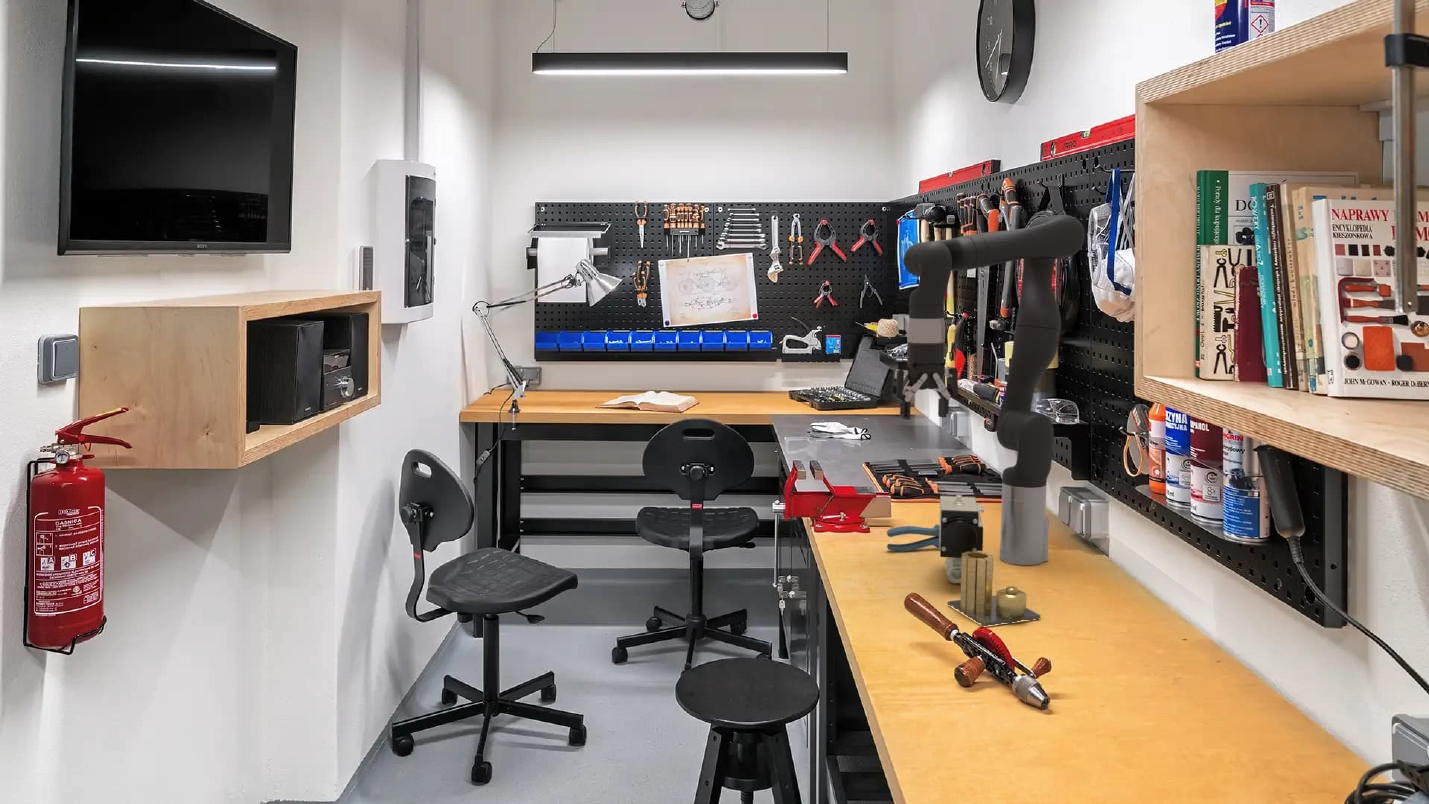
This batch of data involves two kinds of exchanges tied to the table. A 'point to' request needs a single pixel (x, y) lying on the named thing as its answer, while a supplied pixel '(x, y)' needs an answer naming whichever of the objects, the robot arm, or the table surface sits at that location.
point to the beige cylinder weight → (1011, 603)
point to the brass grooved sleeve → (976, 581)
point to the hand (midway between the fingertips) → (924, 418)
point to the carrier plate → (991, 614)
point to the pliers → (914, 530)
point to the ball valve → (959, 531)
